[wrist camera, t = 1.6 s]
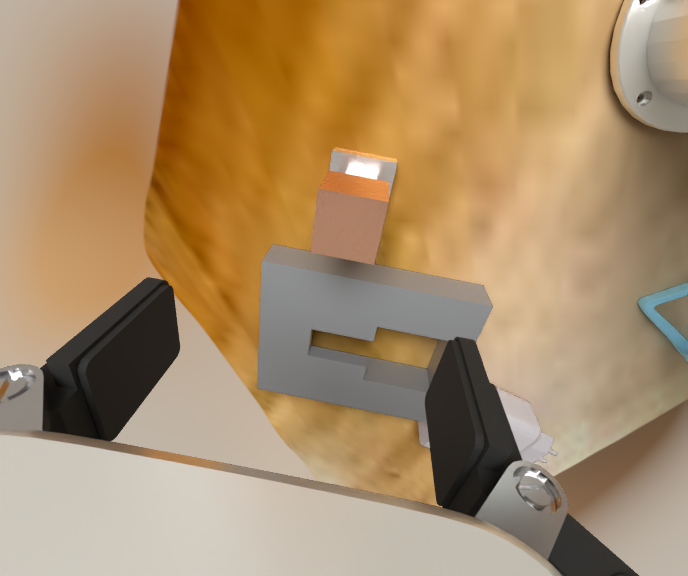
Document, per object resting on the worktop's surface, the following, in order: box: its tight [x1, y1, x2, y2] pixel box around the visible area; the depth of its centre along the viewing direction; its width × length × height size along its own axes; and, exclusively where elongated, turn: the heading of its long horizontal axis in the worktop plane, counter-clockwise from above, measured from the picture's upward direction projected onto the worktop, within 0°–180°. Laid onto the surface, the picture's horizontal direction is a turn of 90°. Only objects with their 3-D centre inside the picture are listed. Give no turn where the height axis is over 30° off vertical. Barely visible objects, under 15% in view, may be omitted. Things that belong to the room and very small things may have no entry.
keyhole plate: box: [257, 244, 493, 423], centre depth 35 cm, size 20×16×4 cm
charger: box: [418, 388, 558, 463], centre depth 39 cm, size 5×9×15 cm
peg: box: [311, 147, 397, 265], centre depth 24 cm, size 5×5×10 cm
